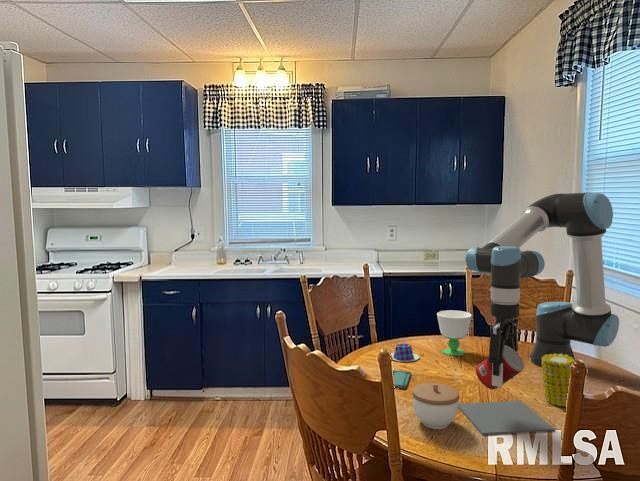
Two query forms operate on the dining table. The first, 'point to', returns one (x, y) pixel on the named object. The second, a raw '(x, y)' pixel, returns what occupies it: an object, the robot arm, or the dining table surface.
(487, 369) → the canned food
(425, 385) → the lidded bowl
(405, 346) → the pudding
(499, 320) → the robot arm
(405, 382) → the smartphone
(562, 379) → the food
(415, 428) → the dining table surface
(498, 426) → the rubber mat
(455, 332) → the cup
